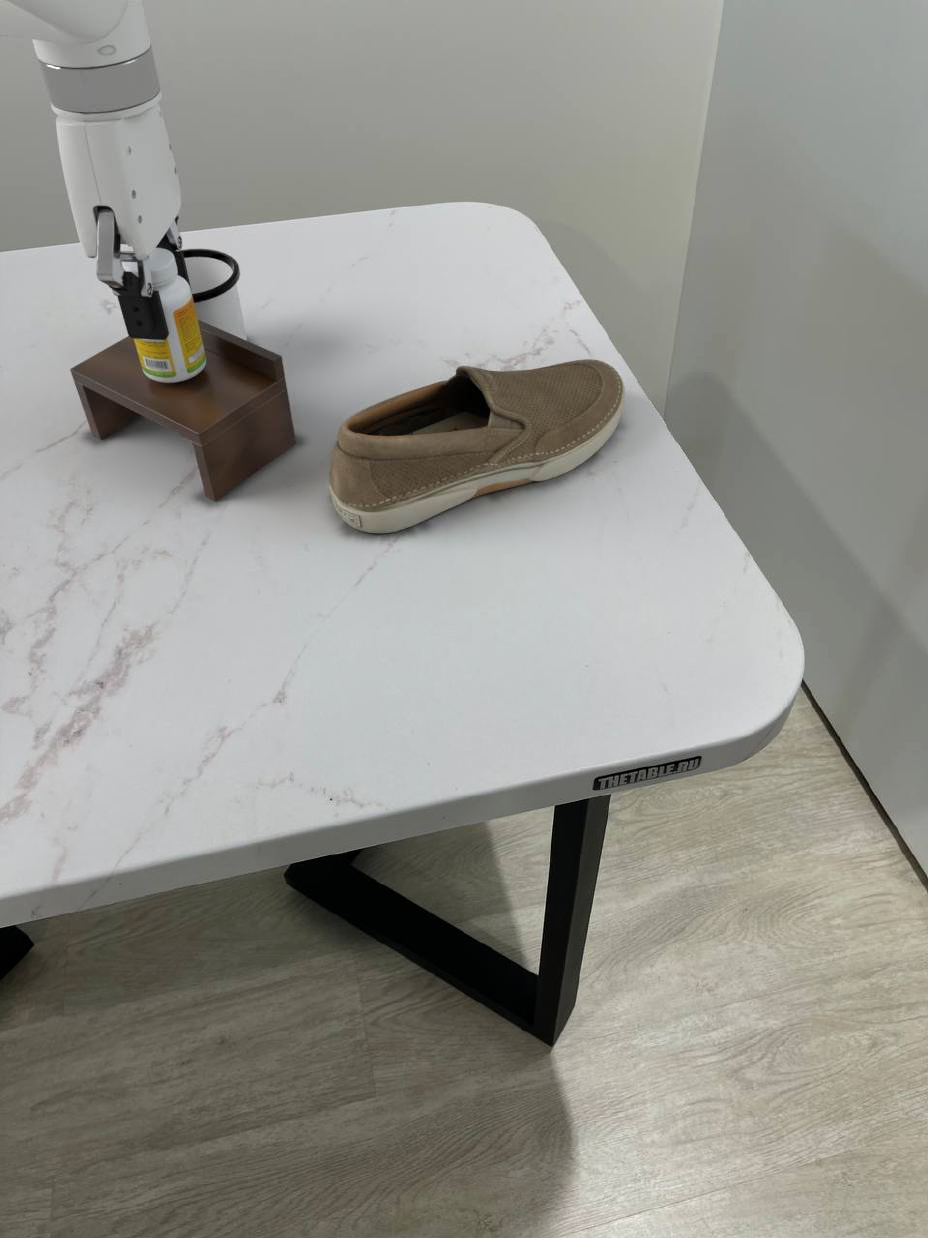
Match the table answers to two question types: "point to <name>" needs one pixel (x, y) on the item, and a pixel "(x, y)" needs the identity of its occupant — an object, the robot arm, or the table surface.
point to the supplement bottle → (171, 325)
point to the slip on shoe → (469, 440)
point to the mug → (215, 289)
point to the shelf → (198, 404)
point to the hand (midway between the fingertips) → (161, 314)
